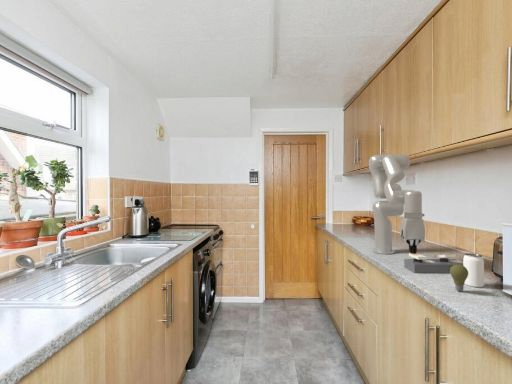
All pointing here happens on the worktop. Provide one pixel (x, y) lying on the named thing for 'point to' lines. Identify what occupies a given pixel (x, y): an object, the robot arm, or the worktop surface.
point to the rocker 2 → (443, 256)
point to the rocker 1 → (418, 256)
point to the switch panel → (430, 265)
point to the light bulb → (459, 276)
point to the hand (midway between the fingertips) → (412, 253)
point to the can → (474, 270)
